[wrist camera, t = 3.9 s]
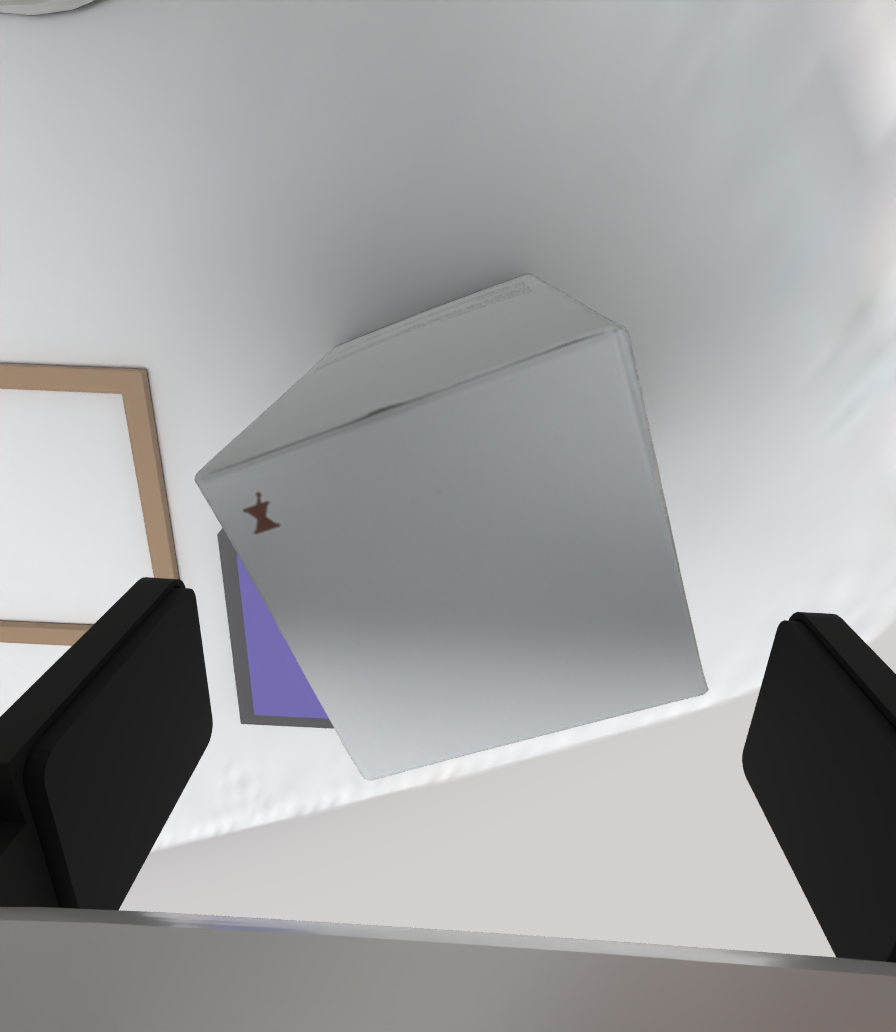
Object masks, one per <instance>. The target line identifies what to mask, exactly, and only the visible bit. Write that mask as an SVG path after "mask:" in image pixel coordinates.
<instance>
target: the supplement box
mask: <svg viewBox="0 0 896 1032" xmlns="http://www.w3.org/2000/svg"><path fill="white" fill-rule="evenodd" d="M195 482H196V483H197V485H198V487H199V488H200V490H201V492H202V494H203V495H204V497H205V499H206V500H207V502H208V504H209V505H210V507H211V509H212V510H213V512H214V514H215V516H216V517H217V519H218V521H219V522H220V524H221V526H222V528H223V529H224V531H225V533H226V534H227V536H228V538H229V540H230V541H231V543H232V545H233V547H234V549H235V550H236V552H237V554H238V556H239V558H240V560H241V561H242V563H243V565H244V567H245V569H246V570H247V572H248V574H249V576H250V578H251V579H252V581H253V583H254V585H255V587H256V588H257V590H258V592H259V594H260V595H261V597H262V599H263V601H264V603H265V604H266V606H267V608H268V610H269V612H270V613H271V615H272V617H273V619H274V621H275V623H276V624H277V626H278V628H279V630H280V632H281V634H282V635H283V637H284V639H285V641H286V642H287V644H288V646H289V648H290V649H291V651H292V653H293V655H294V657H295V658H296V660H297V662H298V664H299V666H300V668H301V669H302V671H303V673H304V675H305V677H306V678H307V680H308V682H309V684H310V686H311V687H312V689H313V691H314V693H315V694H316V696H317V698H318V700H319V702H320V703H321V705H322V707H323V709H324V710H325V712H326V714H327V716H328V718H329V719H330V721H331V723H332V725H333V727H334V729H335V731H336V732H337V734H338V735H339V737H340V739H341V741H342V743H343V745H344V747H345V748H346V750H347V752H348V754H349V755H350V757H351V759H352V761H353V762H354V764H355V765H356V767H357V769H358V770H359V772H360V773H361V775H362V776H363V778H364V779H367V780H375V779H379V778H382V777H386V776H389V775H393V774H397V773H401V772H405V771H408V770H412V769H415V768H419V767H423V766H427V765H431V764H434V763H438V762H442V761H445V760H449V759H453V758H457V757H461V756H464V755H468V754H472V753H476V752H480V751H484V750H488V749H492V748H496V747H500V746H504V745H508V744H511V743H515V742H519V741H523V740H527V739H531V738H535V737H539V736H542V735H546V734H550V733H554V732H558V731H562V730H566V729H569V728H573V727H577V726H581V725H585V724H589V723H593V722H597V721H600V720H604V719H608V718H612V717H616V716H620V715H624V714H628V713H632V712H636V711H640V710H644V709H648V708H652V707H656V706H660V705H663V704H667V703H671V702H675V701H679V700H684V699H688V698H692V697H696V696H700V695H703V694H705V693H706V692H707V691H708V687H707V684H706V681H705V677H704V673H703V669H702V665H701V661H700V657H699V653H698V648H697V644H696V639H695V635H694V630H693V626H692V622H691V617H690V613H689V609H688V604H687V600H686V596H685V591H684V587H683V582H682V577H681V573H680V568H679V563H678V559H677V554H676V549H675V545H674V540H673V536H672V531H671V526H670V522H669V517H668V512H667V508H666V503H665V498H664V494H663V489H662V484H661V480H660V475H659V470H658V466H657V461H656V457H655V452H654V447H653V443H652V438H651V434H650V429H649V425H648V420H647V416H646V411H645V407H644V402H643V398H642V393H641V389H640V384H639V380H638V375H637V371H636V366H635V361H634V357H633V352H632V347H631V342H630V338H629V334H628V332H627V330H626V329H625V328H624V327H623V326H622V325H620V324H618V323H616V322H613V321H611V320H609V319H607V318H605V317H603V316H602V315H600V314H598V313H596V312H595V311H593V310H591V309H589V308H588V307H586V306H584V305H583V304H581V303H579V302H577V301H576V300H574V299H572V298H571V297H569V296H568V295H566V294H564V293H562V292H561V291H559V290H558V289H556V288H554V287H552V286H550V285H549V284H547V283H545V282H544V281H542V280H540V279H538V278H536V277H535V276H533V275H531V274H527V275H524V276H521V277H518V278H515V279H512V280H509V281H506V282H503V283H500V284H498V285H495V286H492V287H489V288H486V289H484V290H481V291H478V292H476V293H473V294H470V295H468V296H465V297H462V298H460V299H457V300H454V301H451V302H449V303H446V304H443V305H441V306H438V307H435V308H432V309H430V310H427V311H425V312H422V313H420V314H417V315H414V316H412V317H409V318H407V319H404V320H402V321H399V322H397V323H394V324H392V325H389V326H387V327H384V328H382V329H379V330H377V331H374V332H371V333H369V334H366V335H364V336H361V337H359V338H356V339H354V340H351V341H349V342H347V343H344V344H341V345H339V346H336V347H335V348H334V349H333V350H332V351H331V352H330V353H329V354H328V355H327V356H325V357H324V358H323V359H322V360H321V361H320V362H319V363H318V364H317V365H315V366H314V367H313V368H312V369H311V370H310V371H309V372H308V373H307V374H306V375H304V376H303V377H302V378H301V379H300V380H299V381H298V382H297V383H296V384H295V385H293V386H292V387H291V388H290V389H289V390H288V391H287V392H286V393H284V394H283V395H282V396H281V397H280V398H279V399H278V400H277V401H276V402H275V403H274V404H272V405H271V406H270V407H269V408H268V409H267V410H266V411H265V412H263V413H262V414H261V415H260V416H259V417H258V418H257V419H256V420H255V421H254V422H253V423H251V424H250V425H249V426H248V427H247V428H246V429H245V430H244V431H243V432H241V433H240V434H239V435H238V436H237V437H236V438H235V439H234V440H232V441H231V442H230V443H229V444H228V445H227V446H226V447H225V448H224V449H222V450H221V451H220V452H219V453H218V454H217V455H216V456H215V457H214V458H213V459H212V460H211V461H209V462H208V463H207V464H206V465H205V466H204V467H203V468H202V469H201V470H200V471H199V472H198V473H197V474H196V476H195Z"/></svg>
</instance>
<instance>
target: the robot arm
mask: <svg viewBox="0 0 896 1032" xmlns="http://www.w3.org/2000/svg"><path fill="white" fill-rule="evenodd" d="M92 1H94V0H0V12H3V13H14V14H24V15H39V14H46V13H52V12H59V11H66V10H72V9H76V8H78V7H80V6H83V5H85V4H87V3H90V2H92ZM212 726H213V721H212V712H211V705H210V698H209V690H208V683H207V676H206V668H205V661H204V654H203V646H202V639H201V632H200V624H199V617H198V610H197V602H196V596H195V593H194V591H193V590H192V589H188V588H185V585H184V583H183V582H182V581H181V580H180V579H167V578H149V577H145V578H141V579H140V580H138V581H137V582H136V583H135V584H134V585H133V586H132V587H131V588H130V589H129V590H128V591H127V592H126V593H125V594H124V595H123V596H122V597H121V598H120V599H119V600H118V601H117V602H116V603H115V604H114V605H113V606H112V607H111V608H110V609H109V610H108V611H107V612H106V613H105V614H104V615H103V616H102V617H101V618H100V619H99V620H98V621H97V622H96V623H95V624H94V625H93V626H92V627H91V628H90V629H89V630H88V631H87V632H86V633H85V634H84V635H83V636H82V637H81V638H80V639H79V640H78V641H77V642H76V643H75V644H74V645H73V646H72V647H71V648H70V649H69V650H68V651H67V652H66V653H65V654H64V655H63V656H62V657H60V658H59V659H58V660H57V661H56V662H55V663H54V664H53V665H52V666H51V667H50V668H49V669H48V670H47V671H46V672H45V673H44V674H43V675H42V676H41V677H40V678H39V679H38V680H37V681H36V682H35V683H34V684H33V685H32V686H31V687H30V688H29V689H28V690H27V691H26V692H25V693H24V694H23V695H22V696H21V697H20V698H19V699H18V700H17V701H16V702H15V703H14V704H13V705H12V706H11V707H10V708H9V709H8V710H7V711H6V712H5V713H4V714H3V715H2V716H1V717H0V1032H896V674H895V673H894V672H893V671H892V670H891V669H890V668H889V667H888V666H887V665H886V664H885V663H884V662H883V661H882V660H881V659H880V657H878V655H876V653H875V652H874V651H873V650H872V649H871V648H870V647H869V646H868V645H867V644H866V643H865V642H864V641H863V640H862V639H861V638H860V637H859V636H858V635H857V634H856V633H855V632H854V631H853V630H852V629H851V628H850V627H849V626H848V625H847V623H846V622H845V621H844V620H843V619H842V618H841V617H839V616H838V615H836V614H825V613H806V612H796V613H794V614H793V615H792V616H791V617H790V619H789V621H785V620H784V621H782V622H781V623H780V624H779V626H778V628H777V631H776V635H775V639H774V642H773V646H772V649H771V653H770V656H769V660H768V664H767V667H766V671H765V674H764V678H763V682H762V685H761V689H760V692H759V696H758V699H757V703H756V707H755V711H754V714H753V718H752V721H751V725H750V728H749V732H748V735H747V739H746V743H745V746H744V750H743V755H742V762H743V769H744V773H745V776H746V778H747V780H748V782H749V784H750V786H751V788H752V790H753V792H754V794H755V796H756V798H757V800H758V802H759V804H760V806H761V808H762V810H763V812H764V814H765V816H766V818H767V820H768V822H769V824H770V826H771V828H772V830H773V832H774V834H775V836H776V838H777V840H778V842H779V844H780V846H781V848H782V850H783V852H784V854H785V856H786V858H787V860H788V862H789V864H790V866H791V868H792V870H793V871H794V874H795V876H796V878H797V880H798V882H799V884H800V886H801V888H802V890H803V892H804V894H805V896H806V898H807V900H808V902H809V904H810V906H811V908H812V910H813V912H814V914H815V916H816V918H817V920H818V922H819V924H820V926H821V928H822V930H823V932H824V934H825V936H826V937H827V940H828V942H829V944H830V945H831V948H832V950H833V952H834V953H835V955H836V958H834V957H822V956H808V955H793V954H781V953H767V952H753V951H740V950H726V949H712V948H698V947H684V946H670V945H657V944H643V943H630V942H616V941H601V940H586V939H572V938H556V937H541V936H527V935H513V934H498V933H483V932H468V931H467V932H466V931H453V930H437V929H422V928H407V927H392V926H377V925H361V924H344V923H328V922H312V921H296V920H280V919H263V918H247V917H230V916H214V915H197V914H181V913H164V912H141V911H118V910H119V908H120V906H121V905H122V903H123V901H124V899H125V897H126V895H127V893H128V892H129V890H130V888H131V886H132V884H133V882H134V881H135V879H136V877H137V875H138V873H139V871H140V869H141V868H142V866H143V864H144V862H145V860H146V858H147V856H148V855H149V853H150V851H151V849H152V847H153V845H154V844H155V842H156V840H157V838H158V836H159V834H160V832H161V831H162V829H163V827H164V825H165V823H166V821H167V820H168V818H169V816H170V814H171V812H172V810H173V808H174V807H175V805H176V803H177V801H178V799H179V797H180V795H181V794H182V792H183V790H184V788H185V786H186V784H187V783H188V781H189V779H190V777H191V775H192V773H193V771H194V770H195V768H196V766H197V764H198V762H199V760H200V759H201V757H202V755H203V753H204V751H205V749H206V747H207V746H208V743H209V741H210V738H211V734H212Z"/></svg>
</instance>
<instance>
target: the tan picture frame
mask: <svg viewBox="0 0 896 1032" xmlns="http://www.w3.org/2000/svg"><path fill="white" fill-rule="evenodd" d="M0 389H22V390H46V391H69V392H93V393H117V394H122V396H123V402H124V408H125V414H126V419H127V425H128V431H129V437H130V442H131V448H132V454H133V460H134V465H135V471H136V477H137V482H138V488H139V494H140V500H141V505H142V511H143V517H144V523H145V528H146V534H147V540H148V546H149V551H150V557H151V563H152V569H153V574H154V578H167V579H179V574H178V568H177V561H176V555H175V549H174V542H173V536H172V529H171V523H170V517H169V510H168V504H167V497H166V491H165V485H164V478H163V472H162V465H161V459H160V452H159V446H158V440H157V433H156V427H155V420H154V414H153V408H152V401H151V395H150V388H149V382H148V376H147V369H127V368H103V367H79V366H55V365H32V364H8V363H0ZM92 626H93V625H81V624H60V623H39V622H18V621H0V642H6V643H27V644H48V645H68V646H73V645H74V644H75V643H76V642H77V641H78V640H79V639H80V638H81V637H82V636H83V635H84V634H85V633H86V632H87V631H88V630H89V629H90V628H91V627H92Z"/></svg>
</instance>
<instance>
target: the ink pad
mask: <svg viewBox="0 0 896 1032" xmlns="http://www.w3.org/2000/svg"><path fill="white" fill-rule="evenodd" d="M217 535H218V543H219V551H220V559H221V567H222V575H223V583H224V591H225V599H226V607H227V615H228V623H229V631H230V639H231V647H232V656H233V664H234V672H235V680H236V688H237V696H238V704H239V712H240V720H241V724H255V725H275V726H295V727H315V728H334V727H333V725H332V723H331V721H330V719H329V718H328V716H327V714H326V712H325V710H324V709H323V707H322V705H321V703H320V702H319V700H318V698H317V696H316V694H315V693H314V691H313V689H312V687H311V686H310V684H309V682H308V680H307V678H306V677H305V675H304V673H303V671H302V669H301V668H300V666H299V664H298V662H297V660H296V658H295V657H294V655H293V653H292V651H291V649H290V648H289V646H288V644H287V642H286V641H285V639H284V637H283V635H282V634H281V632H280V630H279V628H278V626H277V624H276V623H275V621H274V619H273V617H272V615H271V613H270V612H269V610H268V608H267V606H266V604H265V603H264V601H263V599H262V597H261V595H260V594H259V592H258V590H257V588H256V587H255V585H254V583H253V581H252V579H251V578H250V576H249V574H248V572H247V570H246V569H245V567H244V565H243V563H242V561H241V560H240V558H239V556H238V554H237V552H236V550H235V549H234V547H233V545H232V543H231V541H230V540H229V538H228V536H227V534H226V533H225V531H224V529H223V528H222V530H221V531H220V532H219V533H218V534H217Z"/></svg>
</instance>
